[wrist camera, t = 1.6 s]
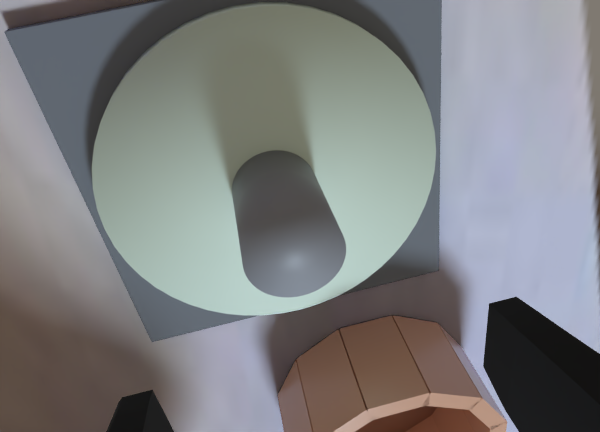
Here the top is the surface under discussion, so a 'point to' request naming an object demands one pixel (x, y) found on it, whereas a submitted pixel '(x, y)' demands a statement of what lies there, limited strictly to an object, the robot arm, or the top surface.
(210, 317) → the mat
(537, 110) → the top surface
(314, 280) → the lid
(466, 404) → the bowl
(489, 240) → the top surface
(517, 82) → the top surface
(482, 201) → the top surface
